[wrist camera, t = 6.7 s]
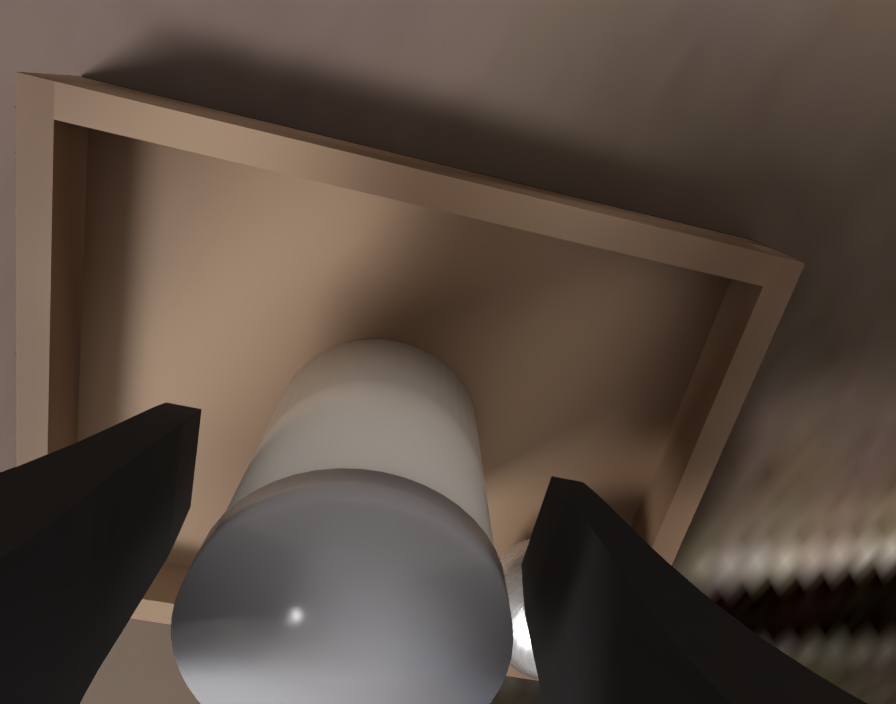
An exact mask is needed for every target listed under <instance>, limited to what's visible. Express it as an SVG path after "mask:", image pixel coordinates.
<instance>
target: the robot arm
mask: <svg viewBox="0 0 896 704" xmlns="http://www.w3.org/2000/svg"><path fill="white" fill-rule="evenodd" d="M201 410H202V409H198V408H193V407H188V406H182V405H177V404H172V403H167V402H166V403H163V404H160V405H158V406H155V407H153V408H151V409H148V410H146V411H144V412H142V413H140V414H138V415H135V416H133V417H131V418H129V419H127V420H125V421H123V422H121V423H118V424H116V425H114V426H112V427H110V428H107V429H105V430H103V431H101V432H99V433H96V434H94V435H92V436H90V437H88V438H86V439H83V440H81V441H79V442H77V443H74V444H72V445H69V446H67V447H64V448H62V449H59V450H57V451H55V452H52V453H50V454H47V455H45V456H42V457H40V458H37V459H35V460H32V461H30V462H27V463H25V464H22V465H20V466H17V467H14V468H12V469H9V470H6V471H3V472H0V704H80V702H81V700H82V698H83V696H84V694H85V692H86V691H87V689H88V687H89V685H90V684H91V682H92V680H93V678H94V676H95V675H96V673H97V671H98V669H99V668H100V666H101V664H102V663H103V661H104V660H105V658H106V656H107V655H108V653H109V652H110V650H111V648H112V647H113V645H114V644H115V642H116V640H117V639H118V637H119V636H120V634H121V632H122V631H123V629H124V628H125V626H126V624H127V623H128V621H129V619H130V618H131V616H132V615H133V613H134V611H135V610H136V608H137V607H138V605H139V603H140V602H141V600H142V599H143V597H144V595H145V594H146V592H147V591H148V589H149V587H150V586H151V584H152V582H153V581H154V579H155V578H156V576H157V574H158V573H159V571H160V569H161V568H162V566H163V564H164V563H165V561H166V559H167V558H168V556H169V554H170V552H171V550H172V548H173V545H174V543H175V541H176V539H177V537H178V535H179V532H180V530H181V528H182V525H183V523H184V521H185V519H186V516H187V514H188V512H189V509H190V507H191V499H192V490H193V481H194V472H195V463H196V454H197V446H198V437H199V428H200V419H201ZM521 567H522V584H523V598H524V609H525V617H526V622H527V627H528V632H529V637H530V642H531V646H532V651H533V656H534V661H535V665H536V670H537V674H538V679H539V683H540V688H541V693H542V697H543V702H544V704H867V703H865V702H863V701H861V700H860V699H858V698H856V697H854V696H853V695H851V694H849V693H847V692H845V691H844V690H842V689H840V688H839V687H837V686H835V685H834V684H832V683H830V682H829V681H827V680H825V679H824V678H822V677H820V676H819V675H817V674H816V673H814V672H812V671H811V670H809V669H808V668H806V667H805V666H803V665H802V664H800V663H799V662H797V661H795V660H794V659H792V658H791V657H789V656H788V655H786V654H785V653H783V652H782V651H780V650H779V649H777V648H776V647H774V646H773V645H771V644H770V643H768V642H767V641H765V640H764V639H763V638H761V637H760V636H758V635H757V634H755V633H754V632H753V631H751V630H750V629H749V628H747V627H746V626H745V625H743V624H742V623H741V622H739V621H738V620H737V619H735V618H734V617H733V616H731V615H730V614H729V613H727V612H726V611H725V610H723V609H722V608H721V607H719V606H718V605H717V604H716V603H714V602H713V601H712V600H711V599H709V598H708V597H707V596H706V595H705V594H703V593H702V592H701V591H700V590H699V589H697V588H696V587H695V586H694V585H693V584H692V583H691V582H689V581H688V580H687V579H686V578H685V577H684V576H682V575H681V574H680V573H679V572H678V571H677V570H676V569H674V568H673V567H672V566H671V565H670V564H669V563H668V562H667V561H666V560H665V559H664V558H662V557H661V556H660V555H659V554H658V553H657V552H656V551H655V550H654V549H653V548H652V547H651V546H650V545H649V544H648V543H647V542H646V541H645V540H644V539H642V538H641V537H640V536H639V535H638V534H637V533H636V532H635V531H634V530H633V529H632V528H631V527H630V526H629V525H628V524H627V523H626V522H625V521H624V520H623V519H622V518H621V517H620V516H619V515H618V514H617V513H616V512H615V511H614V510H613V509H612V508H611V507H610V506H609V505H608V504H607V503H606V502H605V501H604V500H603V499H602V498H601V497H600V496H599V495H597V494H596V493H595V492H594V491H593V490H592V489H591V488H590V487H588V486H587V485H586V484H585V483H583V482H580V481H575V480H569V479H564V478H559V477H554V476H551V479H550V482H549V485H548V488H547V491H546V494H545V497H544V500H543V503H542V505H541V508H540V511H539V514H538V517H537V520H536V523H535V526H534V529H533V532H532V535H531V538H530V541H529V544H528V546H527V549H526V552H525V555H524V558H523V561H522V564H521Z"/></svg>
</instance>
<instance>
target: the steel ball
mask: <svg viewBox="0 0 896 704" xmlns="http://www.w3.org/2000/svg"><path fill="white" fill-rule="evenodd" d="M529 541H530V539H527V540H524V541H522V542H519V543H517V544H516V545H514V546H512V547H511V548H510V549H508V550H507V551H506V552H504V553H503V554H502V555H501V556H500V557H499V559H500V561H501V564H502V567H503V571H504V575H505V580H506V585H507V592H508V598H509V604H510V611H511V617H512V624H513V639H514V640H513V650H512V657H511V661H510V666H512V667H513V668H514V669H516V670H517V671H519V672H520V673H522V674H524V675H526V676H529V677H531V678H534V679H537V680H539V679H538V674H537V670H536V665H535V661H534V656H533V651H532V646H531V642H530V637H529V632H528V627H527V622H526V617H525V609H524V598H523V584H522V567H521V564H522V561H523V558H524V555H525V552H526V549H527V546H528V544H529Z"/></svg>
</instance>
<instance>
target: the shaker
mask: <svg viewBox="0 0 896 704" xmlns="http://www.w3.org/2000/svg"><path fill="white" fill-rule="evenodd" d="M171 640H172V646H173V653H174V656H175V659H176V662H177V665H178V668H179V671H180V672H181V674H182V676H183V678H184V680H185V682H186V684H187V686H188V687H189V689H190V690H191V692H192V693H193V694H194V696H195V697H196V699H197V700H198V701H199V702H200V703H201V704H490V702H491V701H492V700H493V698H494V697H495V695H496V693H497V692H498V690H499V689H500V687H501V685H502V683H503V681H504V679H505V676H506V674H507V672H508V668H509V665H510V661H511V657H512V650H513V640H514V639H513V624H512V617H511V611H510V604H509V598H508V592H507V585H506V580H505V575H504V571H503V567H502V564H501V561H500V559H499V557H498V554H497V552H496V549H495V548H494V543H493V536H492V529H491V522H490V515H489V508H488V501H487V494H486V487H485V480H484V473H483V466H482V459H481V452H480V445H479V438H478V431H477V424H476V417H475V413H474V408H473V405H472V402H471V400H470V397H469V394H468V393H467V391H466V389H465V387H464V386H463V384H462V383H461V381H460V380H459V379H458V377H457V376H456V375H455V374H454V373H453V372H452V371H451V370H450V369H449V368H448V367H447V366H446V365H445V364H444V363H443V362H441V361H440V360H439V359H437V358H436V357H434V356H433V355H431V354H429V353H427V352H426V351H424V350H422V349H419V348H417V347H414V346H412V345H409V344H405V343H402V342H398V341H392V340H385V339H365V340H356V341H351V342H347V343H343V344H340V345H337V346H334V347H332V348H330V349H328V350H326V351H324V352H322V353H320V354H318V355H317V356H315V357H314V358H313V359H311V360H310V361H308V362H307V363H306V364H305V365H304V366H303V367H302V368H301V369H300V370H299V371H298V372H297V373H296V375H295V376H294V377H293V378H292V380H291V381H290V383H289V385H288V386H287V388H286V390H285V392H284V394H283V396H282V398H281V400H280V402H279V404H278V406H277V408H276V410H275V412H274V414H273V416H272V418H271V420H270V422H269V424H268V426H267V428H266V430H265V433H264V435H263V437H262V439H261V441H260V443H259V445H258V447H257V449H256V451H255V453H254V455H253V457H252V459H251V461H250V463H249V465H248V467H247V469H246V471H245V473H244V475H243V477H242V480H241V482H240V484H239V486H238V488H237V490H236V492H235V494H234V496H233V498H232V500H231V502H230V504H229V506H228V508H227V510H226V512H225V513H224V514H223V515H222V516H221V517H220V519H219V520H218V521H217V522H216V523H215V525H214V526H213V527H212V528H211V530H210V531H209V533H208V535H207V536H206V538H205V540H204V541H203V543H202V545H201V547H200V549H199V551H198V553H197V555H196V556H195V558H194V560H193V562H192V564H191V566H190V568H189V570H188V572H187V574H186V576H185V578H184V580H183V582H182V584H181V587H180V589H179V592H178V594H177V597H176V599H175V603H174V608H173V612H172V617H171Z"/></svg>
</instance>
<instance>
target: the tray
mask: <svg viewBox="0 0 896 704" xmlns="http://www.w3.org/2000/svg"><path fill="white" fill-rule="evenodd" d="M805 264H806V263H805V262H802V261H800V260H798V259H795V258H793V257H791V256H788V255H786V254H784V253H781V252H779V251H777V250H774V249H772V248H770V247H767V246H765V245H763V244H761V243H758V242H756V241H753V240H749V239H744V238H740V237H736V236H732V235H728V234H724V233H720V232H716V231H712V230H708V229H703V228H699V227H695V226H691V225H687V224H683V223H679V222H675V221H671V220H667V219H662V218H658V217H654V216H650V215H646V214H642V213H638V212H634V211H630V210H626V209H621V208H617V207H613V206H609V205H605V204H601V203H597V202H593V201H589V200H584V199H580V198H576V197H572V196H568V195H564V194H560V193H556V192H552V191H548V190H543V189H539V188H535V187H531V186H527V185H523V184H519V183H515V182H511V181H507V180H502V179H498V178H494V177H490V176H486V175H482V174H478V173H474V172H470V171H466V170H461V169H457V168H453V167H449V166H445V165H441V164H437V163H433V162H429V161H425V160H420V159H416V158H412V157H408V156H404V155H400V154H396V153H392V152H388V151H383V150H379V149H375V148H371V147H367V146H363V145H359V144H355V143H351V142H347V141H342V140H338V139H334V138H330V137H326V136H322V135H318V134H314V133H310V132H306V131H301V130H297V129H293V128H289V127H285V126H281V125H277V124H273V123H269V122H265V121H260V120H256V119H252V118H248V117H244V116H240V115H236V114H232V113H228V112H224V111H219V110H215V109H211V108H207V107H203V106H199V105H195V104H191V103H187V102H182V101H178V100H174V99H170V98H166V97H162V96H158V95H154V94H150V93H146V92H141V91H137V90H133V89H129V88H125V87H121V86H117V85H113V84H109V83H105V82H100V81H96V80H92V79H88V78H84V77H80V76H70V75H55V74H40V73H25V72H16V467H17V466H20V465H22V464H25V463H27V462H30V461H32V460H35V459H37V458H40V457H42V456H45V455H47V454H50V453H52V452H55V451H57V450H59V449H62V448H64V447H67V446H69V445H72V444H74V443H77V442H79V441H81V440H83V439H86V438H88V437H90V436H92V435H94V434H96V433H99V432H101V431H103V430H105V429H107V428H110V427H112V426H114V425H116V424H118V423H121V422H123V421H125V420H127V419H129V418H131V417H133V416H135V415H138V414H140V413H142V412H144V411H146V410H148V409H151V408H153V407H155V406H158V405H160V404H163V403H166V402H167V403H172V404H177V405H182V406H188V407H193V408H198V409H202V410H201V419H200V428H199V437H198V446H197V454H196V463H195V472H194V481H193V490H192V499H191V507H190V509H189V512H188V514H187V516H186V519H185V521H184V523H183V525H182V528H181V530H180V532H179V535H178V537H177V539H176V541H175V543H174V545H173V548H172V550H171V552H170V554H169V556H168V558H167V559H166V561H165V563H164V564H163V566H162V568H161V569H160V571H159V573H158V574H157V576H156V578H155V579H154V581H153V582H152V584H151V586H150V587H149V589H148V591H147V592H146V594H145V595H144V597H143V599H142V600H141V602H140V603H139V605H138V607H137V608H136V610H135V611H134V613H133V615H132V616H131V618H132V619H139V620H145V621H152V622H158V623H165V624H171V617H172V612H173V608H174V603H175V599H176V597H177V594H178V592H179V589H180V587H181V584H182V582H183V580H184V578H185V576H186V574H187V572H188V570H189V568H190V566H191V564H192V562H193V560H194V558H195V556H196V555H197V553H198V551H199V549H200V547H201V545H202V543H203V541H204V540H205V538H206V536H207V535H208V533H209V531H210V530H211V528H212V527H213V526H214V525H215V523H216V522H217V521H218V520H219V519H220V517H221V516H222V515H223V514H224V513H225V512H226V510H227V508H228V506H229V504H230V502H231V500H232V498H233V496H234V494H235V492H236V490H237V488H238V486H239V484H240V482H241V480H242V477H243V475H244V473H245V471H246V469H247V467H248V465H249V463H250V461H251V459H252V457H253V455H254V453H255V451H256V449H257V447H258V445H259V443H260V441H261V439H262V437H263V435H264V433H265V430H266V428H267V426H268V424H269V422H270V420H271V418H272V416H273V414H274V412H275V410H276V408H277V406H278V404H279V402H280V400H281V398H282V396H283V394H284V392H285V390H286V388H287V386H288V385H289V383H290V381H291V380H292V378H293V377H294V376H295V375H296V373H297V372H298V371H299V370H300V369H301V368H302V367H303V366H304V365H305V364H306V363H307V362H308V361H310V360H311V359H313V358H314V357H315V356H317V355H318V354H320V353H322V352H324V351H326V350H328V349H330V348H332V347H334V346H337V345H340V344H343V343H347V342H351V341H356V340H365V339H385V340H392V341H398V342H402V343H405V344H409V345H412V346H414V347H417V348H419V349H422V350H424V351H426V352H427V353H429V354H431V355H433V356H434V357H436V358H437V359H439V360H440V361H441V362H443V363H444V364H445V365H446V366H447V367H448V368H449V369H450V370H451V371H452V372H453V373H454V374H455V375H456V376H457V377H458V379H459V380H460V381H461V383H462V384H463V386H464V387H465V389H466V391H467V393H468V394H469V397H470V400H471V402H472V405H473V408H474V413H475V417H476V424H477V431H478V438H479V445H480V452H481V459H482V466H483V473H484V480H485V487H486V494H487V501H488V508H489V515H490V522H491V529H492V536H493V543H494V548H495V549H496V552H497V554H498V557H500V556H501V555H502V554H503V553H504V552H506V551H507V550H508V549H510V548H511V547H512V546H514V545H516V544H517V543H519V542H522V541H524V540H527V539H530V538H531V535H532V532H533V529H534V526H535V523H536V520H537V517H538V514H539V511H540V508H541V505H542V503H543V500H544V497H545V494H546V491H547V488H548V485H549V482H550V479H551V476H554V477H559V478H564V479H569V480H575V481H580V482H583V483H585V484H586V485H587V486H588V487H590V488H591V489H592V490H593V491H594V492H595V493H596V494H597V495H599V496H600V497H601V498H602V499H603V500H604V501H605V502H606V503H607V504H608V505H609V506H610V507H611V508H612V509H613V510H614V511H615V512H616V513H617V514H618V515H619V516H620V517H621V518H622V519H623V520H624V521H625V522H626V523H627V524H628V525H629V526H630V527H631V528H632V529H633V530H634V531H635V532H636V533H637V534H638V535H639V536H640V537H641V538H642V539H644V540H645V541H646V542H647V543H648V544H649V545H650V546H651V547H652V548H653V549H654V550H655V551H656V552H657V553H658V554H659V555H660V556H661V557H662V558H664V559H665V560H666V561H667V562H668V563H669V564H670V565H671V566H672V563H673V561H674V559H675V557H676V554H677V552H678V550H679V548H680V545H681V543H682V541H683V539H684V536H685V534H686V532H687V530H688V527H689V525H690V523H691V521H692V518H693V516H694V514H695V512H696V509H697V507H698V505H699V503H700V500H701V498H702V496H703V494H704V491H705V489H706V487H707V485H708V482H709V480H710V478H711V476H712V473H713V471H714V469H715V466H716V464H717V462H718V460H719V457H720V455H721V453H722V451H723V448H724V446H725V444H726V442H727V439H728V437H729V435H730V433H731V430H732V428H733V426H734V424H735V421H736V419H737V417H738V415H739V412H740V410H741V408H742V406H743V403H744V401H745V399H746V397H747V394H748V392H749V390H750V388H751V385H752V383H753V381H754V379H755V376H756V374H757V372H758V370H759V367H760V365H761V363H762V361H763V358H764V356H765V354H766V351H767V349H768V347H769V345H770V342H771V340H772V338H773V336H774V333H775V331H776V329H777V327H778V324H779V322H780V320H781V318H782V315H783V313H784V311H785V309H786V306H787V304H788V302H789V300H790V297H791V295H792V293H793V291H794V288H795V286H796V284H797V282H798V279H799V277H800V275H801V273H802V270H803V268H804V266H805ZM506 676H511V677H518V678H524V679H531V680H537V679H534V678H531V677H529V676H526V675H524V674H522V673H520V672H519V671H517V670H516V669H514V668H513V667H512V666H510V665H509V668H508V672H507V674H506ZM537 681H539V680H537Z"/></svg>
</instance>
